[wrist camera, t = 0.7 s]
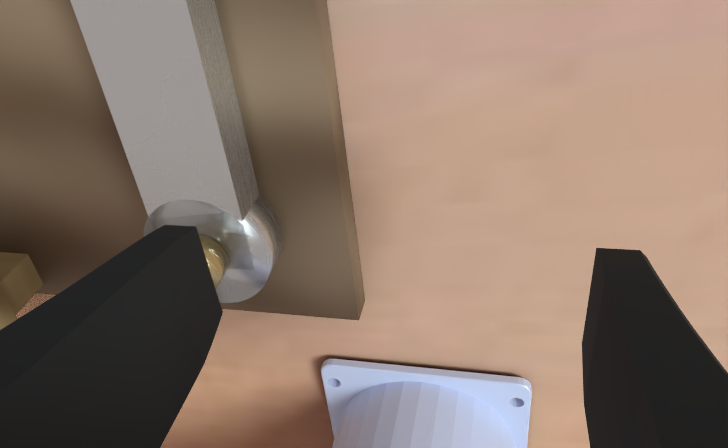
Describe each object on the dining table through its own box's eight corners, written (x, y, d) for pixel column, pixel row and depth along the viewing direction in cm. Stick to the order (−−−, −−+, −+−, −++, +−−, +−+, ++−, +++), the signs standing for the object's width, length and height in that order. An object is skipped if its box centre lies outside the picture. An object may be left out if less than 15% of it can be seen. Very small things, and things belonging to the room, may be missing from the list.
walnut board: (365, 300, 23) (338, 388, 20) (-88, 265, 27) (-168, 332, 24) (301, -199, 14) (234, -182, 11) (-350, -129, 19) (-529, -104, 15)
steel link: (292, 278, 21) (268, 330, 19) (183, 270, 22) (150, 319, 20) (193, -186, 13) (138, -174, 12) (32, -169, 14) (-44, -155, 12)
